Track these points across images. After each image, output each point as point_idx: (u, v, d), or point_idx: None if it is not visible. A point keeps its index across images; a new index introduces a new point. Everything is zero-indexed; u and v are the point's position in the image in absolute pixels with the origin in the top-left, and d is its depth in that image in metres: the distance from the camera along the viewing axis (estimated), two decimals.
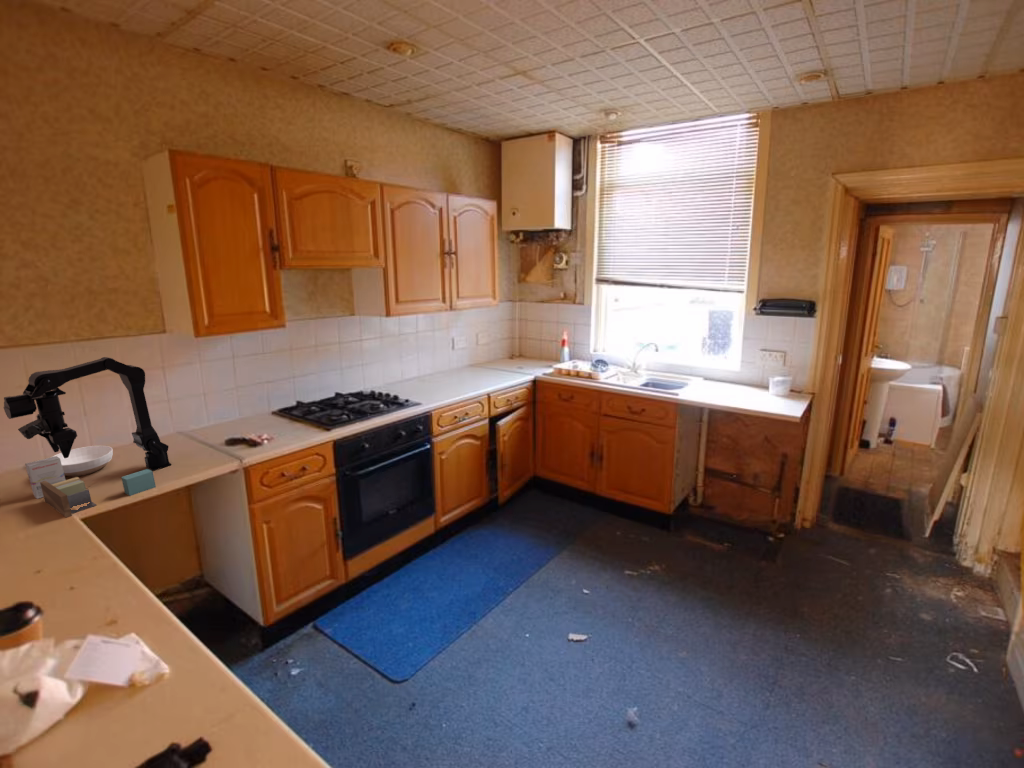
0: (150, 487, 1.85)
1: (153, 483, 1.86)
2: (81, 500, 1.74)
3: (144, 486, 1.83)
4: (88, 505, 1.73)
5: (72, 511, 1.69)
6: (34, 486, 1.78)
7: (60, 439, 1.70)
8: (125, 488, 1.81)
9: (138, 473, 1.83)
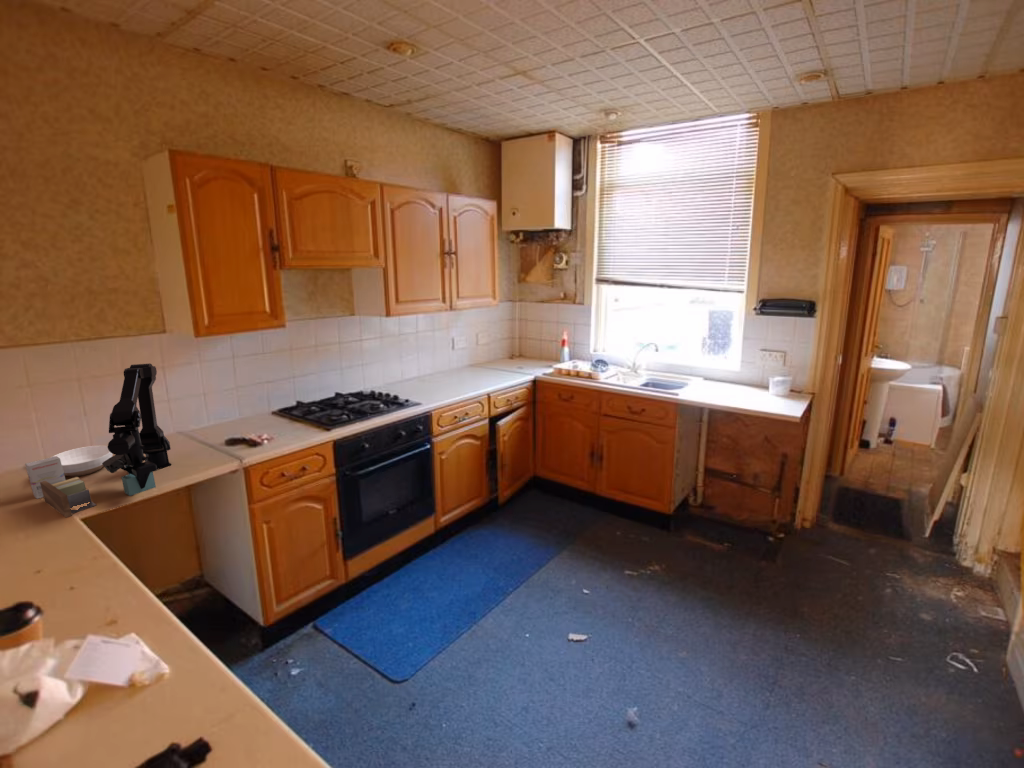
0: (150, 487, 1.85)
1: (153, 483, 1.86)
2: (81, 500, 1.74)
3: None
4: (88, 505, 1.73)
5: (72, 511, 1.69)
6: (34, 486, 1.78)
7: (143, 473, 1.76)
8: (125, 488, 1.81)
9: None
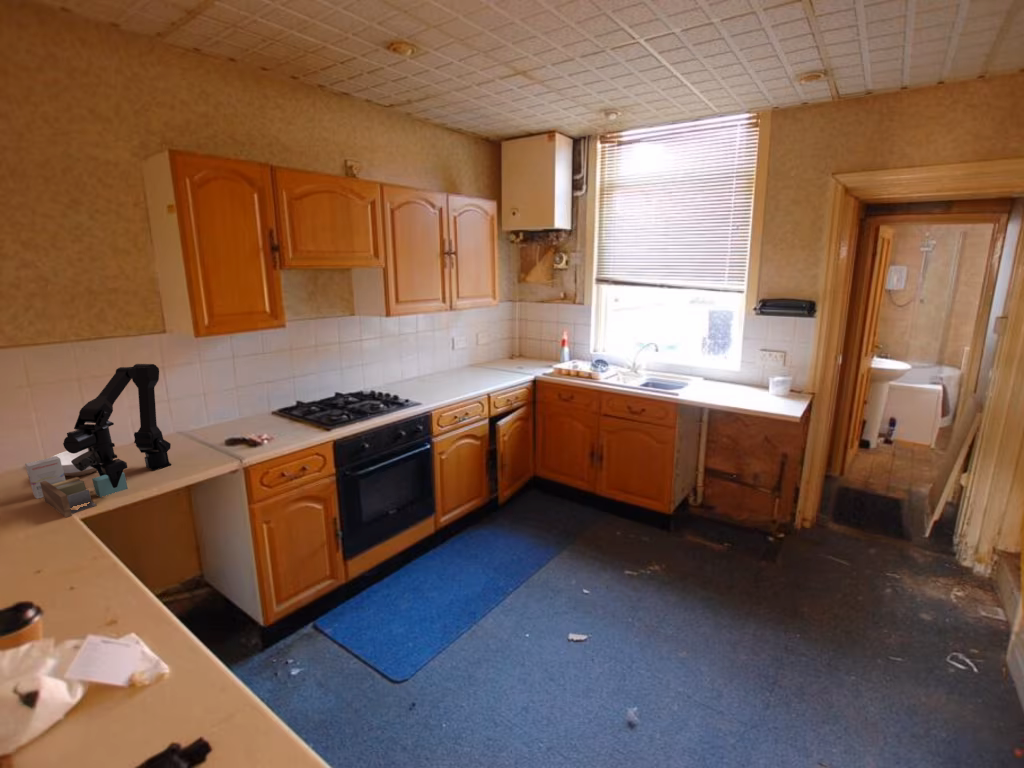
0: (122, 489, 1.84)
1: (125, 484, 1.85)
2: (81, 500, 1.74)
3: (115, 488, 1.83)
4: (88, 505, 1.73)
5: (72, 511, 1.69)
6: (34, 486, 1.78)
7: (112, 471, 1.75)
8: (96, 490, 1.80)
9: None
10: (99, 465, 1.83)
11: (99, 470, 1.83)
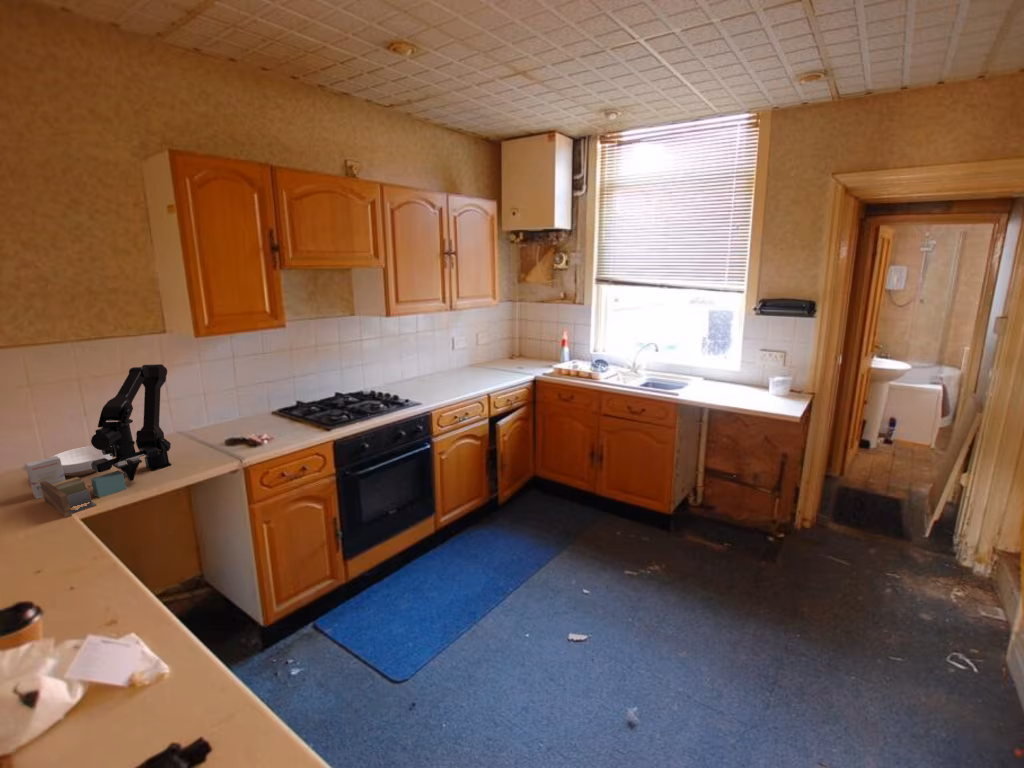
0: (120, 489, 1.84)
1: (123, 485, 1.84)
2: (81, 500, 1.74)
3: (114, 488, 1.82)
4: (88, 505, 1.73)
5: (72, 511, 1.69)
6: (34, 486, 1.78)
7: (93, 468, 1.79)
8: (94, 490, 1.80)
9: (108, 475, 1.82)
10: (128, 463, 1.87)
11: (128, 467, 1.88)
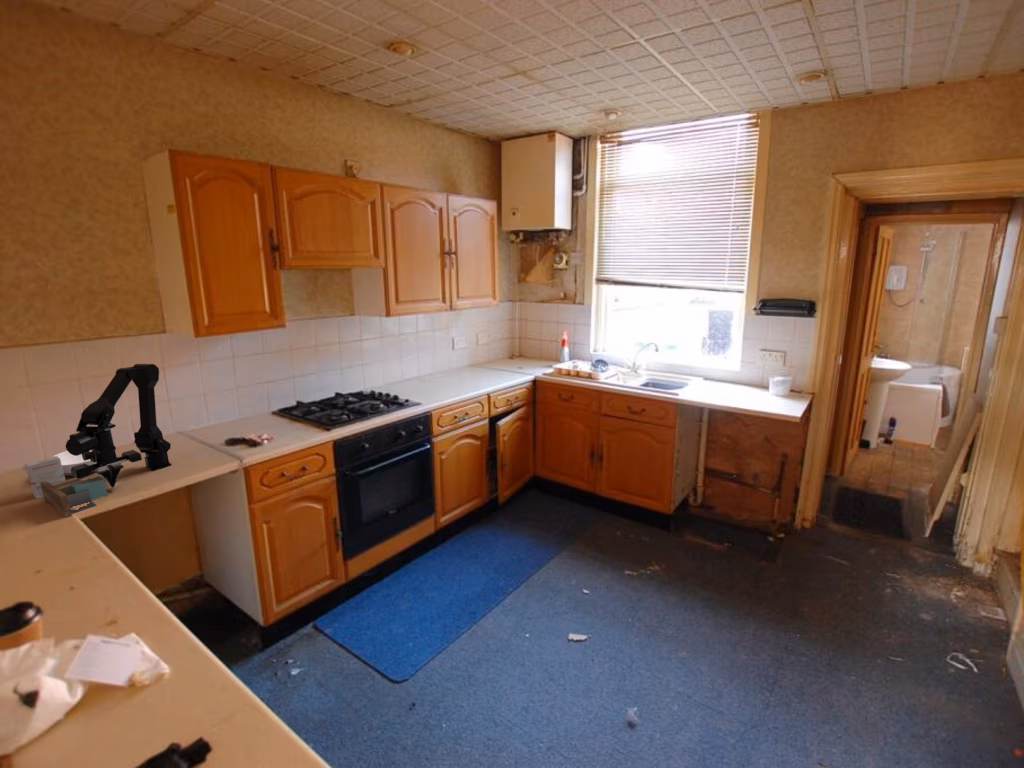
0: (101, 495, 1.79)
1: (104, 491, 1.80)
2: (81, 500, 1.74)
3: (94, 494, 1.78)
4: (88, 505, 1.73)
5: (72, 511, 1.69)
6: (34, 486, 1.78)
7: (72, 474, 1.75)
8: None
9: (88, 481, 1.78)
10: (109, 468, 1.83)
11: (109, 473, 1.83)
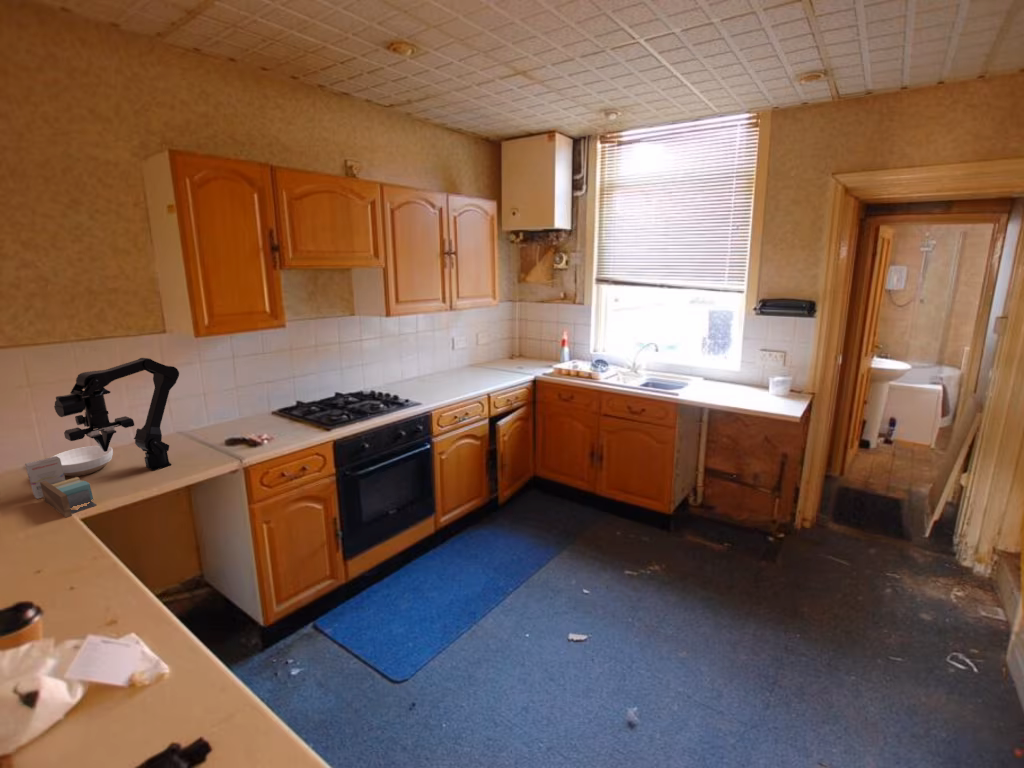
0: None
1: (90, 496, 1.77)
2: (81, 500, 1.74)
3: None
4: (88, 505, 1.73)
5: (72, 511, 1.69)
6: (34, 486, 1.78)
7: (66, 437, 1.79)
8: None
9: (74, 485, 1.75)
10: (103, 433, 1.86)
11: (103, 437, 1.87)
